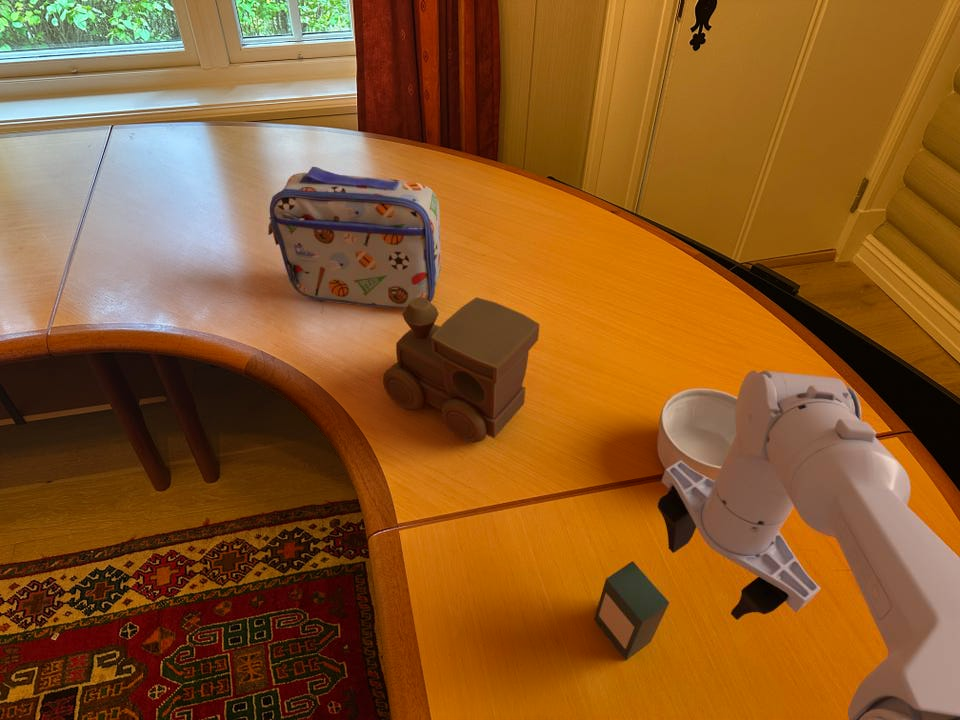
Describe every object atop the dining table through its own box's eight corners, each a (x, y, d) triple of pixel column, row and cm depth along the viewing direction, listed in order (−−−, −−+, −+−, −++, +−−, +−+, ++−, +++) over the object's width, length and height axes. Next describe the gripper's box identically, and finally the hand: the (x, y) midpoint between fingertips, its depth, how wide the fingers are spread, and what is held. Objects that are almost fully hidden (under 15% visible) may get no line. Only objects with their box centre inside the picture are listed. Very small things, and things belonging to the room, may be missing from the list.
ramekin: (766, 450, 81) (784, 415, 76) (736, 522, 73) (754, 488, 68) (671, 408, 86) (683, 373, 81) (633, 471, 78) (643, 436, 73)
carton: (632, 560, 59) (605, 579, 58) (670, 602, 56) (641, 623, 55) (618, 602, 66) (593, 619, 64) (651, 641, 62) (625, 661, 61)
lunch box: (278, 304, 104) (244, 185, 88) (300, 270, 111) (272, 154, 96) (436, 319, 101) (428, 199, 86) (447, 283, 108) (442, 166, 93)
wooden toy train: (536, 409, 86) (544, 318, 75) (491, 462, 79) (493, 371, 68) (426, 354, 94) (418, 265, 83) (376, 398, 87) (361, 308, 76)
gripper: (870, 538, 44) (802, 619, 54) (716, 414, 53) (681, 501, 63) (809, 588, 42) (749, 664, 51) (658, 448, 51) (630, 534, 60)
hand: (708, 577), depth 57 cm, fingers open, 7 cm apart
